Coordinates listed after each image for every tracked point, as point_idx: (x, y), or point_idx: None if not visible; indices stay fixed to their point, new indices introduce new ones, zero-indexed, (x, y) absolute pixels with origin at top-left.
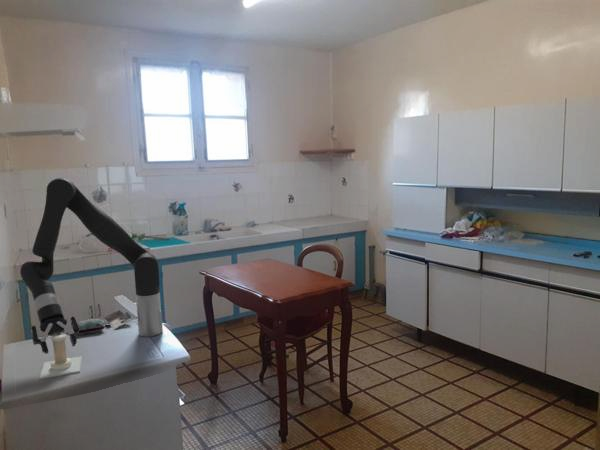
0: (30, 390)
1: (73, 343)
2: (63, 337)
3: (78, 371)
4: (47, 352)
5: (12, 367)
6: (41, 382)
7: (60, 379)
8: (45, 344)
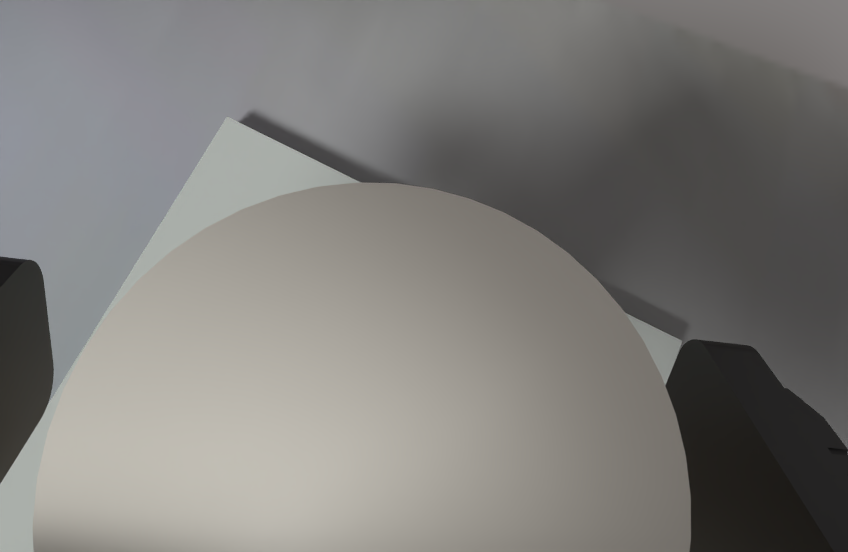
0: (805, 149)
1: (23, 261)
2: (269, 205)
3: (242, 130)
4: (681, 382)
5: None
6: (672, 243)
7: (482, 138)
8: (816, 478)
